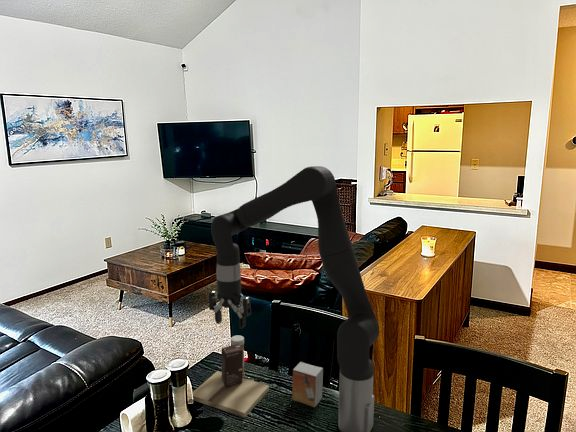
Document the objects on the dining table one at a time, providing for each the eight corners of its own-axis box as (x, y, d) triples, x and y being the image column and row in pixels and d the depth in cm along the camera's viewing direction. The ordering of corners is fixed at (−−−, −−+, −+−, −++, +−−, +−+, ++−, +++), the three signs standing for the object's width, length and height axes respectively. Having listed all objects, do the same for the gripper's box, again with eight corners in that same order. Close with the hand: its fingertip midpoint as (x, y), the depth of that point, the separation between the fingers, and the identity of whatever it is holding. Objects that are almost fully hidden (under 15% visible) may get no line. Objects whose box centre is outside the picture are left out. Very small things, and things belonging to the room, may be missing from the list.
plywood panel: (269, 389, 136) (269, 385, 135) (245, 417, 122) (244, 412, 122) (217, 374, 144) (217, 370, 144) (189, 399, 131) (189, 394, 131)
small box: (291, 400, 131) (292, 369, 129) (299, 390, 135) (300, 361, 133) (315, 408, 127) (315, 376, 125) (322, 398, 132) (323, 367, 130)
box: (225, 388, 134) (225, 353, 132) (221, 380, 138) (220, 347, 135) (243, 383, 137) (243, 349, 134) (238, 376, 141) (238, 343, 138)
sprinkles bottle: (233, 378, 142) (232, 342, 139) (229, 371, 146) (228, 336, 143) (246, 375, 144) (245, 339, 141) (242, 369, 148) (241, 333, 145)
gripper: (254, 276, 131) (255, 324, 134) (216, 270, 137) (218, 316, 140) (242, 283, 124) (243, 334, 127) (202, 277, 130) (204, 325, 133)
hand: (230, 325), depth 134 cm, fingers open, 8 cm apart
